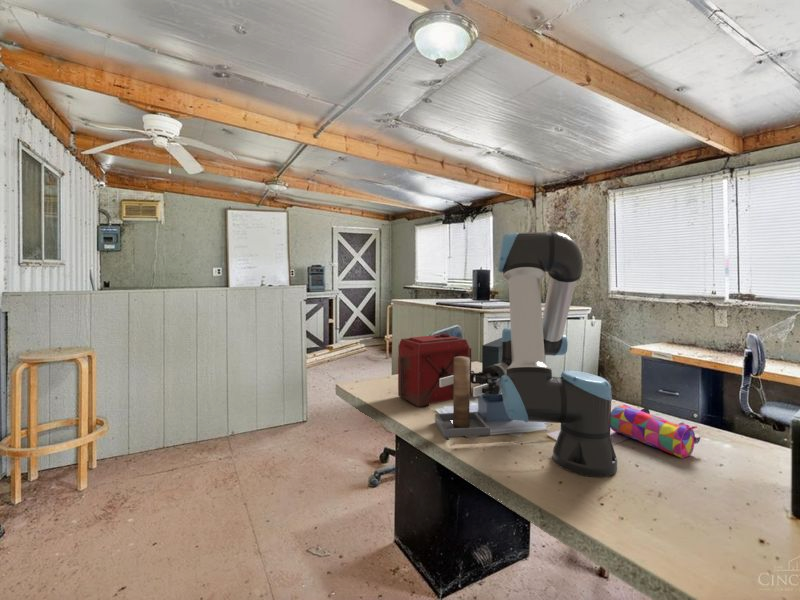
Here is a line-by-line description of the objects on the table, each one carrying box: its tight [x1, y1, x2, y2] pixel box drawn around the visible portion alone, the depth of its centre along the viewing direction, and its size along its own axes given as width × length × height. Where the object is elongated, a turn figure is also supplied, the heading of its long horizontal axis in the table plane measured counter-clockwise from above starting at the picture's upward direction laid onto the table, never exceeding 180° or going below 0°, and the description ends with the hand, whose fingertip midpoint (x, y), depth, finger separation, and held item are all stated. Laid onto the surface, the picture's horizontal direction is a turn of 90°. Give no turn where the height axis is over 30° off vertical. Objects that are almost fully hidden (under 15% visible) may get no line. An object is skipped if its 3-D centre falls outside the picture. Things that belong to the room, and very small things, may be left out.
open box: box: [477, 393, 513, 422], centre depth 133 cm, size 9×9×7 cm
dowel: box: [452, 356, 471, 428], centre depth 123 cm, size 5×5×22 cm
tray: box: [434, 411, 491, 441], centre depth 124 cm, size 14×14×3 cm
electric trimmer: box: [639, 407, 651, 414], centre depth 131 cm, size 4×16×3 cm, turn 131°
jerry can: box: [397, 333, 472, 408], centre depth 155 cm, size 30×16×25 cm, turn 118°
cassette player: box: [481, 337, 502, 395], centre depth 173 cm, size 29×7×20 cm, turn 146°
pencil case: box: [610, 404, 701, 459], centre depth 113 cm, size 22×9×9 cm, turn 30°
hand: (456, 387), depth 121 cm, fingers open, 13 cm apart
